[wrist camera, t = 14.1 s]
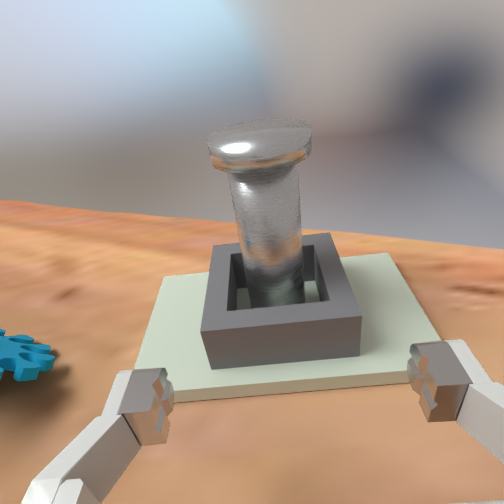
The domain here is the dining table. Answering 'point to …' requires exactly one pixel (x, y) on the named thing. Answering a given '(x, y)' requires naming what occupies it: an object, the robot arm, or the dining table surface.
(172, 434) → the dining table surface
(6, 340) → the gear
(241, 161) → the pin
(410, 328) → the socket board
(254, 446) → the dining table surface
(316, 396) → the dining table surface
